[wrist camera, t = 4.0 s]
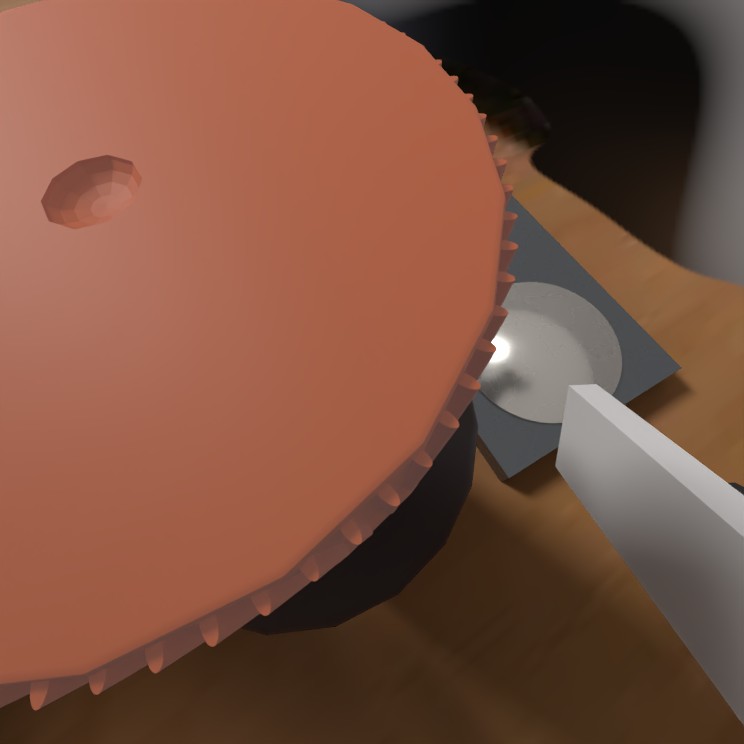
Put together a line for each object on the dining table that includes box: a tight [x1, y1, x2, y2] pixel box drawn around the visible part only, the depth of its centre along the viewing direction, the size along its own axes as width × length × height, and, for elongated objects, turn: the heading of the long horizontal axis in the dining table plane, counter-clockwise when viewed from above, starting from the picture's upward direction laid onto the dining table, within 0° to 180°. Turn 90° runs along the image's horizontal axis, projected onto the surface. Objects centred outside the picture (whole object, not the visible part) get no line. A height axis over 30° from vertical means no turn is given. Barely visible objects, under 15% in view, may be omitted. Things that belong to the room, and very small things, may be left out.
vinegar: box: [0, 0, 518, 710], centre depth 11 cm, size 7×7×20 cm
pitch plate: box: [472, 195, 681, 481], centre depth 23 cm, size 24×12×6 cm, turn 30°
